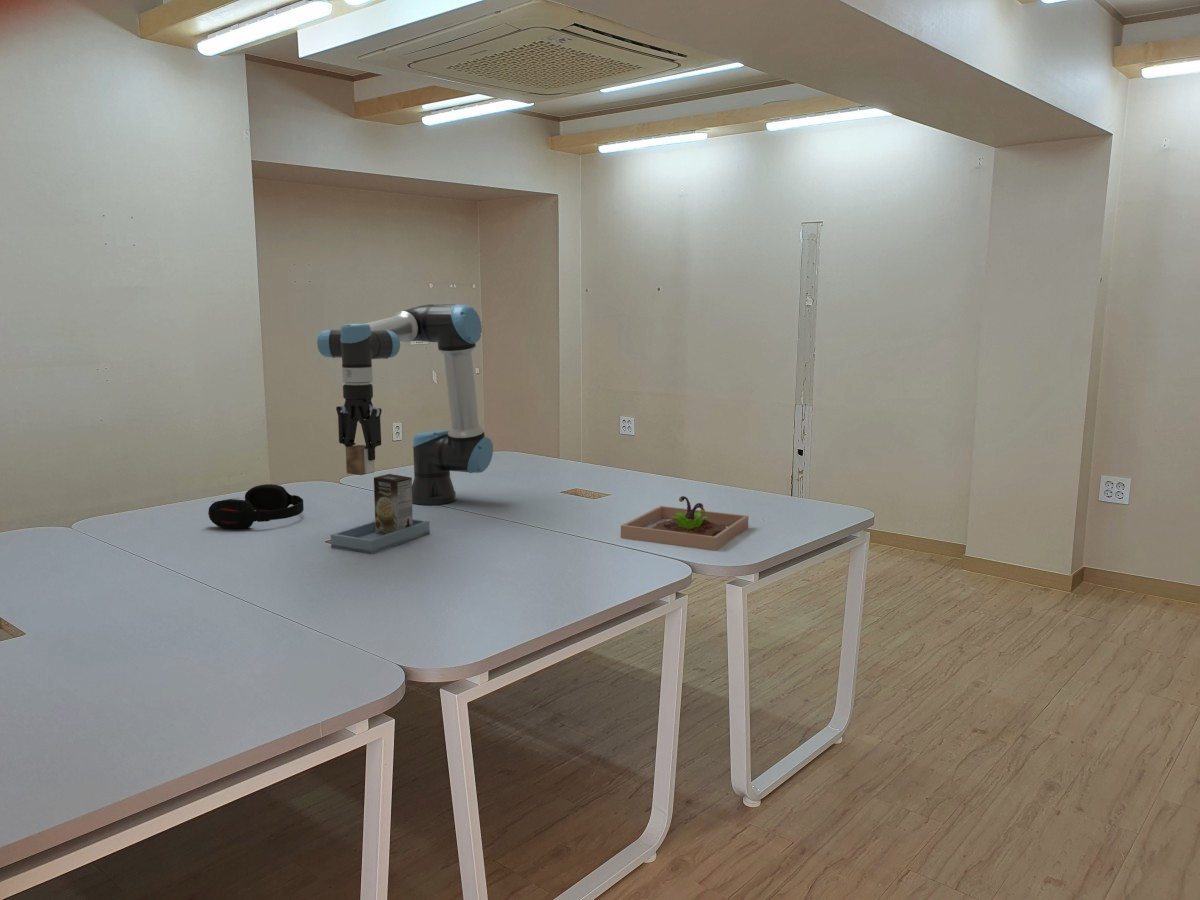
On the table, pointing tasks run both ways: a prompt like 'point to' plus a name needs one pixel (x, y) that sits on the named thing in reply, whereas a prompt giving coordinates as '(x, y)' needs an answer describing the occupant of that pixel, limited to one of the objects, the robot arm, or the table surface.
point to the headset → (255, 507)
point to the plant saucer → (638, 532)
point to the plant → (691, 522)
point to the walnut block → (355, 460)
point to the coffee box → (392, 503)
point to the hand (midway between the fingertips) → (361, 471)
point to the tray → (376, 537)
